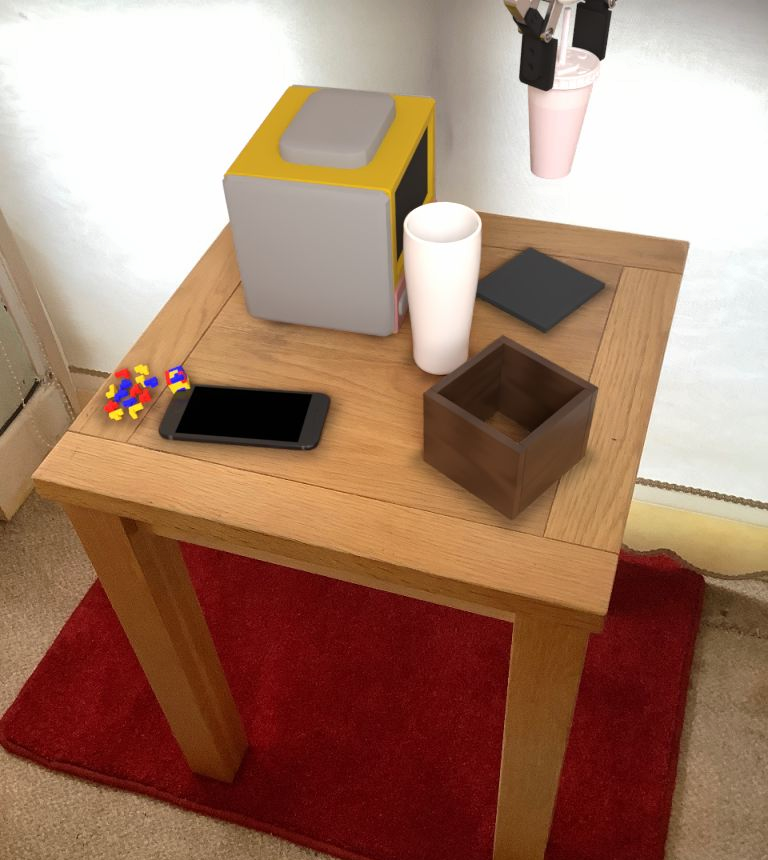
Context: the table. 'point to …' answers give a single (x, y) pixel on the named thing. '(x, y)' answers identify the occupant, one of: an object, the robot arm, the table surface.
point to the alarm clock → (331, 206)
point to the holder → (520, 401)
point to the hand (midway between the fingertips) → (562, 69)
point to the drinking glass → (441, 282)
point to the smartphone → (246, 417)
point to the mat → (538, 289)
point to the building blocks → (174, 380)
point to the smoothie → (561, 109)
